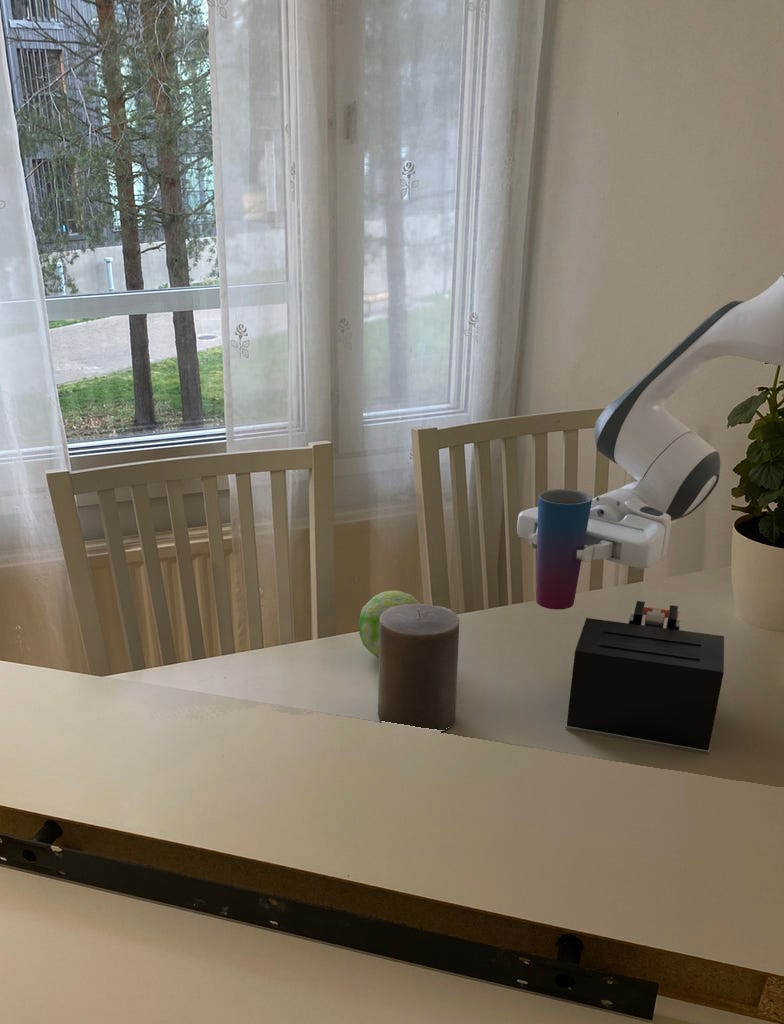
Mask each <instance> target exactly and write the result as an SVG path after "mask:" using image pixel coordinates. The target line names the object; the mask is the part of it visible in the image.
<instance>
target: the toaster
mask: <svg viewBox="0 0 784 1024" xmlns="http://www.w3.org/2000/svg"><path fill="white" fill-rule="evenodd" d="M644 625H645V624H644ZM644 625H643V624H642V625H637V624H629V622H620V621H613V620H604V619H598V618H592V617H591V618H590V617H586V618H585V620H584V623H583V626H582V629H581V631H580V635H579V638H578V641H577V644H576V646H575V650H574V658H573V665H572V675H571V683H570V690H569V691H570V692H569V701H568V709H567V717H566V724H565V726H564V727H565V728H564V730H566V731H569V732H570V731H572V732H576V733H583V734H587V735H594V736H599V737H604V738H609V739H617V740H621V741H628V742H633V743H638V744H645V745H650V746H656V747H661V748H667V749H673V750H677V751H683V752H690V753H696V754H700V755H707V756H708V755H710V748H711V747H710V746H711V741H712V736H713V731H714V730H713V729H714V724H715V719H716V714H717V711H718V705H719V699H720V695H721V694H720V693H721V688H722V683H723V679H724V674H725V673H724V672H725V636H724V635H720V634H712V633H706V632H705V633H704V632H696V631H689V630H681V629H679V630H674V629H667V628H666V627H663V628H659V627H652V626H644Z"/></svg>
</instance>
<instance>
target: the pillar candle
mask: <svg viewBox="0 0 784 1024" xmlns="http://www.w3.org/2000/svg"><path fill="white" fill-rule="evenodd" d="M459 639H460V618H459V616H458V615H457V613H456V612H454V611H453V610H452V609H451V608H446V607H444V606H440V605H432V604H425V603H420V604H412V605H411V604H407V605H401V606H396V607H390V608H388V609H387V611H385V612H383V614H382V615H381V616H380V629H379V657H378V695H377V701H378V702H377V715H378V719H379V721H380V720H381V721H385V722H391V723H397V724H404V725H410V726H415V727H421V728H429V729H437V730H446V728H448V727H450V726H451V727H452V726H453V725H454V724H453V723H455V720H456V709H457V707H456V705H457V689H458V688H457V685H458V665H459V664H458V662H459V659H458V658H459V641H460V640H459ZM381 721H380V722H381ZM452 724H453V725H452ZM451 727H450V728H451ZM446 731H447V730H446Z"/></svg>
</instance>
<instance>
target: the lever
mask: <svg viewBox="0 0 784 1024" xmlns="http://www.w3.org/2000/svg"><path fill="white" fill-rule="evenodd" d="M668 614H669V609H664V608H656V607H647V606H644V613H643V616H645V619H644V626H652V627H659V628H664V624H665V619H668ZM679 614H680V612H679V610H678V613H677V620H678V619H679Z"/></svg>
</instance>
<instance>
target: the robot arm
mask: <svg viewBox="0 0 784 1024" xmlns="http://www.w3.org/2000/svg"><path fill="white" fill-rule="evenodd" d="M724 356H735V357H740V358H745V359H748V360H753V361H757V362H761V363H765V364H769V365H774V366H779V367H780V366H781V367H784V272H783V273H782V274H781V275H780V277H778V279H777V280H776V281H775V282H774V283H773V284H772V285H771V286H769V287H768V288H767V289H765V290H764V291H763V292H762V293H760V294H758V295H756V296H755V297H753V298H750V299H749V300H746V301H745V300H744V301H743V300H733V301H731V302H728V303H726V304H725V305H723V306H722V307H720V308H718V309H717V310H716V311H715V312H713V313H712V314H711V315H710V316H709V317H707V318H706V319H704V321H702V322H701V323H700V324H699V325H698V326H697V327H695V329H693V330H692V331H691V332H690V333H688V335H687V336H686V337H685V338H684V339H683V340H681V341H680V342H679V343H678V344H676V346H675V347H674V348H672V349H671V351H670V352H669V353H667V354H666V355H665V356H664V357H663V358H662V359H661V360H660V361H659V362H658V363H656V364H655V365H654V366H653V368H651V369H650V370H649V371H648V372H647V373H646V374H645V375H644V376H643V377H642V378H640V380H638V381H637V382H636V383H635V384H633V385H632V386H631V387H630V388H629V389H627V390H626V391H624V392H623V393H622V394H621V395H620V396H618V397H617V398H616V399H615V400H614V401H613V402H611V403H610V404H609V405H607V407H606V408H605V409H604V410H603V411H602V412H601V414H600V415H599V416H598V417H597V419H596V421H595V423H594V441H595V445H596V450H597V452H599V453H600V454H601V455H602V456H604V457H606V458H607V459H608V460H610V461H611V462H612V463H614V464H616V465H618V466H619V467H620V468H622V469H623V470H624V471H625V472H626V473H628V474H629V475H630V476H631V477H632V478H633V479H634V480H636V481H632V482H630V483H628V484H625V485H624V486H622V487H620V488H617V489H612V490H611V491H607V492H606V493H603V494H601V495H598V496H595V497H592V503H591V509H590V515H589V520H588V526H587V532H586V537H585V543H584V545H583V546H581V547H578V548H577V550H576V554H577V555H576V557H575V558H576V560H579V561H581V562H583V563H588V562H591V561H599V560H602V561H603V560H604V561H608V562H612V563H616V564H619V565H623V566H627V567H631V568H635V569H648V568H651V567H653V566H655V565H656V564H658V563H659V562H661V561H664V560H665V558H666V555H667V552H668V548H669V543H670V537H671V528H672V527H673V526H674V525H675V524H677V523H678V522H679V521H680V520H681V519H683V518H685V517H687V516H689V515H690V514H692V513H693V512H694V511H696V510H697V509H698V508H699V507H700V506H701V505H702V504H703V503H704V502H705V501H706V500H707V498H709V496H710V495H711V494H712V492H713V491H714V489H715V488H716V487H717V484H718V483H719V480H720V473H721V455H720V452H719V451H717V450H716V448H714V447H713V446H711V444H709V443H708V442H707V441H706V440H704V438H702V437H701V436H699V434H698V433H696V432H695V431H694V430H691V429H690V428H689V427H687V426H686V425H685V424H684V423H683V422H681V421H680V420H679V419H678V418H676V417H675V416H674V415H673V414H671V412H669V411H668V410H667V408H666V405H665V403H666V401H667V399H668V398H670V397H671V396H672V395H673V394H674V393H675V392H677V391H678V390H679V389H680V388H681V387H682V386H683V385H684V384H686V382H688V381H689V380H690V379H691V378H692V377H693V376H694V375H695V374H696V373H697V372H699V371H700V370H701V369H702V368H703V367H704V366H705V365H706V364H708V363H709V362H711V361H712V360H714V359H717V358H720V357H724ZM516 523H517V524H516V533H517V536H518V537H519V538H522V539H525V540H528V548H531V549H535V550H537V532H538V506H535V507H531V508H528V509H525V510H522V511H520V512H519V513H518V516H517V522H516Z"/></svg>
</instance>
